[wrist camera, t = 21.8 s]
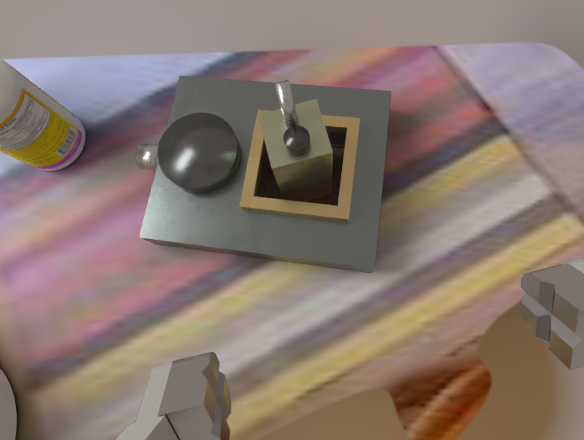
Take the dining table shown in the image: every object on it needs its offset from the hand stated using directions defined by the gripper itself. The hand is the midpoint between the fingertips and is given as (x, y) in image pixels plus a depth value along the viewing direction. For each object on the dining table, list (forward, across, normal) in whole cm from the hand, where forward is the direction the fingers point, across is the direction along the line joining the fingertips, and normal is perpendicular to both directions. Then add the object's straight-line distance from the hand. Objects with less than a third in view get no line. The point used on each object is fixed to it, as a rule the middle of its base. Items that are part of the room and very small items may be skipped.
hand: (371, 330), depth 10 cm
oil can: (+26, -1, +4) cm, 26 cm away
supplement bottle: (+33, +23, -3) cm, 41 cm away
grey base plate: (+27, +3, +3) cm, 27 cm away
